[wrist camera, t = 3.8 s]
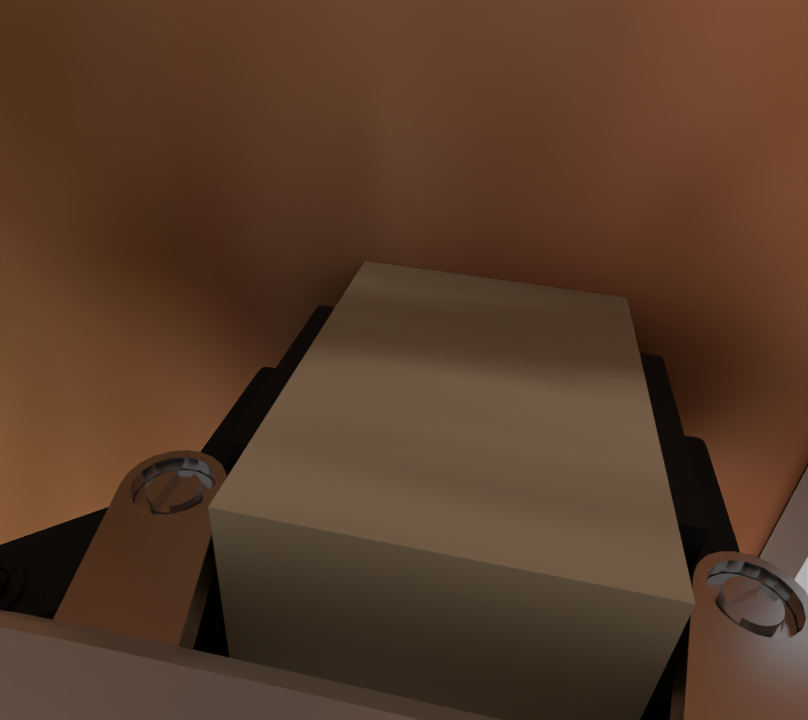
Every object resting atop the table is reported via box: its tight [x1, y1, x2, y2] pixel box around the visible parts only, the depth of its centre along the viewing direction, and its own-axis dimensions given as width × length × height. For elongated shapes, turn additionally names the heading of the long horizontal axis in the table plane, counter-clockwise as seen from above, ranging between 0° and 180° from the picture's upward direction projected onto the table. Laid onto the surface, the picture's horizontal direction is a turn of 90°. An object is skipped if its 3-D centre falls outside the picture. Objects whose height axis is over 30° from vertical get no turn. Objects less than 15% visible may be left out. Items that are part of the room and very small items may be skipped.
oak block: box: [208, 261, 695, 720], centre depth 9 cm, size 4×4×6 cm
